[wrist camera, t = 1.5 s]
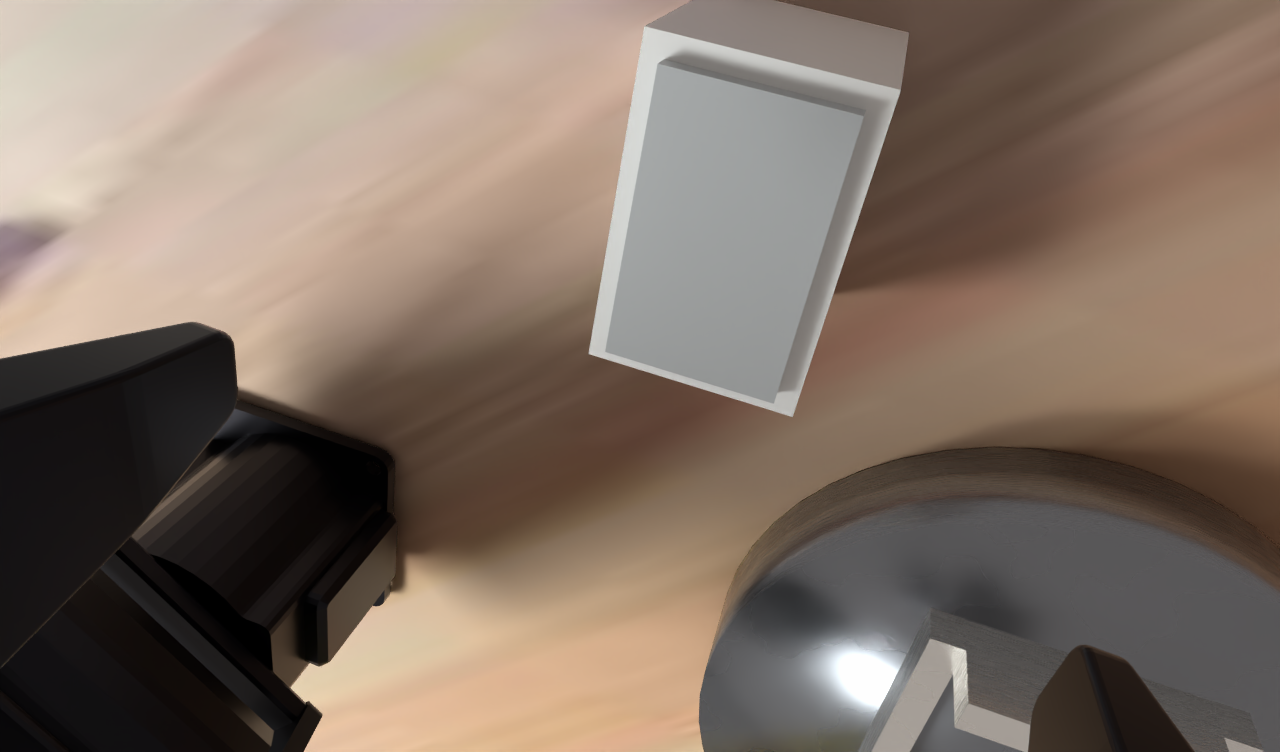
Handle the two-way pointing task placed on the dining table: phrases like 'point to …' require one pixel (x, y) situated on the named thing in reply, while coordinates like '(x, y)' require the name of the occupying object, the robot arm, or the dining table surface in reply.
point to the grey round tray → (991, 608)
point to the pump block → (742, 191)
